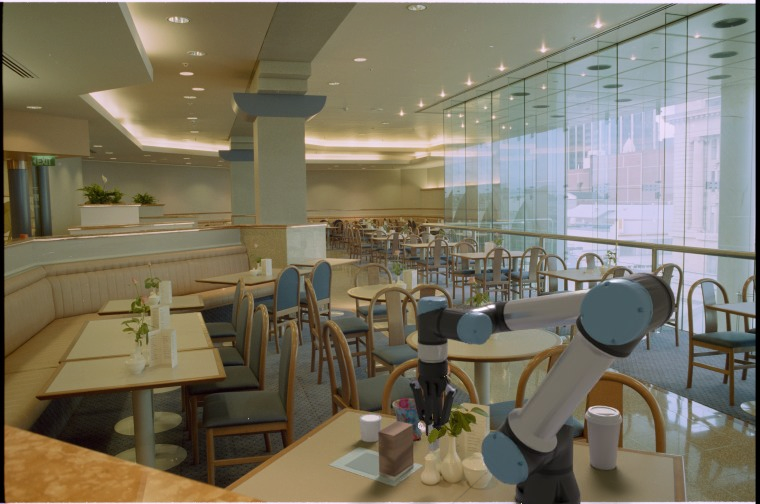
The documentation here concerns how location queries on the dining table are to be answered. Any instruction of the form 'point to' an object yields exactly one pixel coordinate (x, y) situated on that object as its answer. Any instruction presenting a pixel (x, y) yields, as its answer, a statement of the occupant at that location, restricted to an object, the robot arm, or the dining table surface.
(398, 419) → the mug
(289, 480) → the dining table surface
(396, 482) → the rubber mat
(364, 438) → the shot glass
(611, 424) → the coffee cup
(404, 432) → the walnut block
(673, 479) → the dining table surface
